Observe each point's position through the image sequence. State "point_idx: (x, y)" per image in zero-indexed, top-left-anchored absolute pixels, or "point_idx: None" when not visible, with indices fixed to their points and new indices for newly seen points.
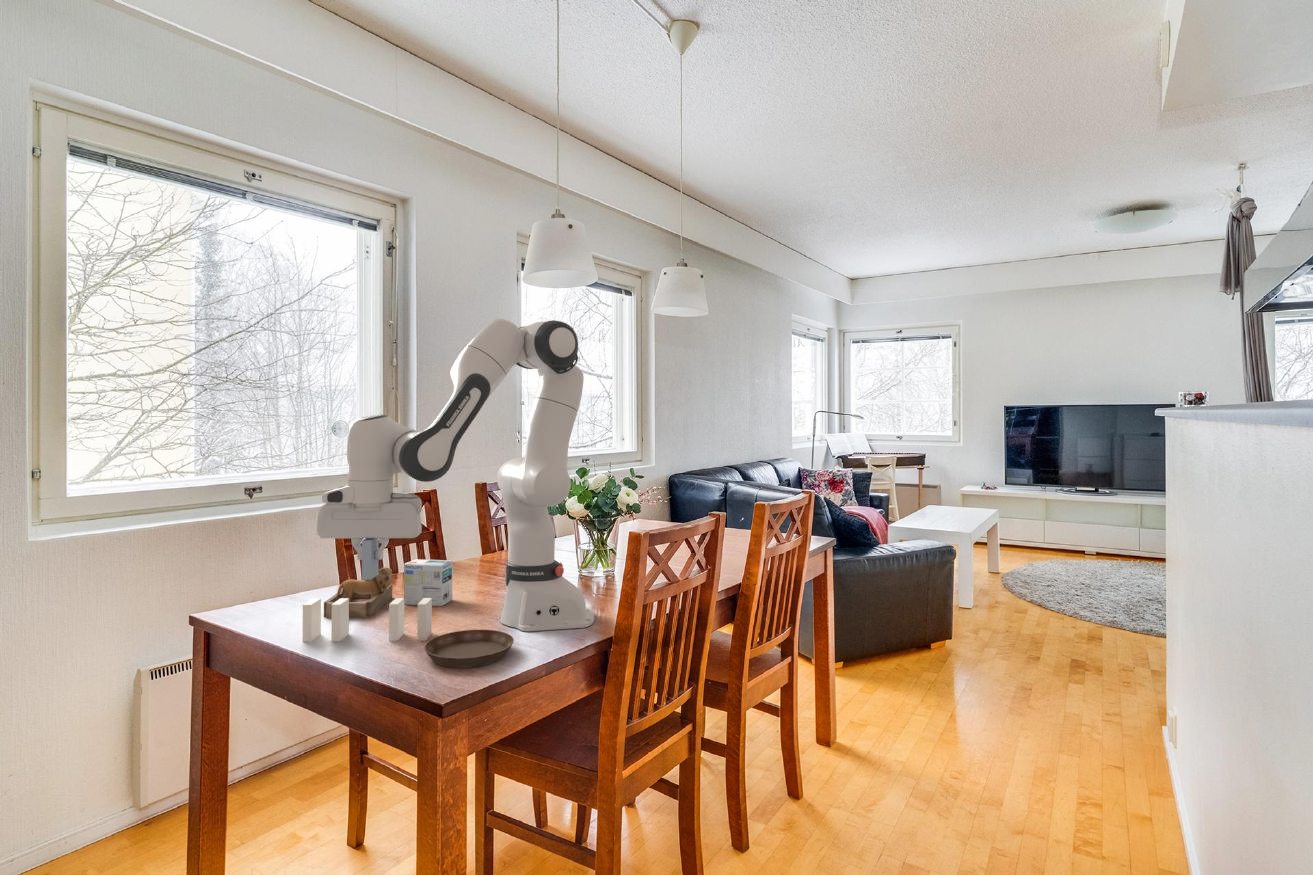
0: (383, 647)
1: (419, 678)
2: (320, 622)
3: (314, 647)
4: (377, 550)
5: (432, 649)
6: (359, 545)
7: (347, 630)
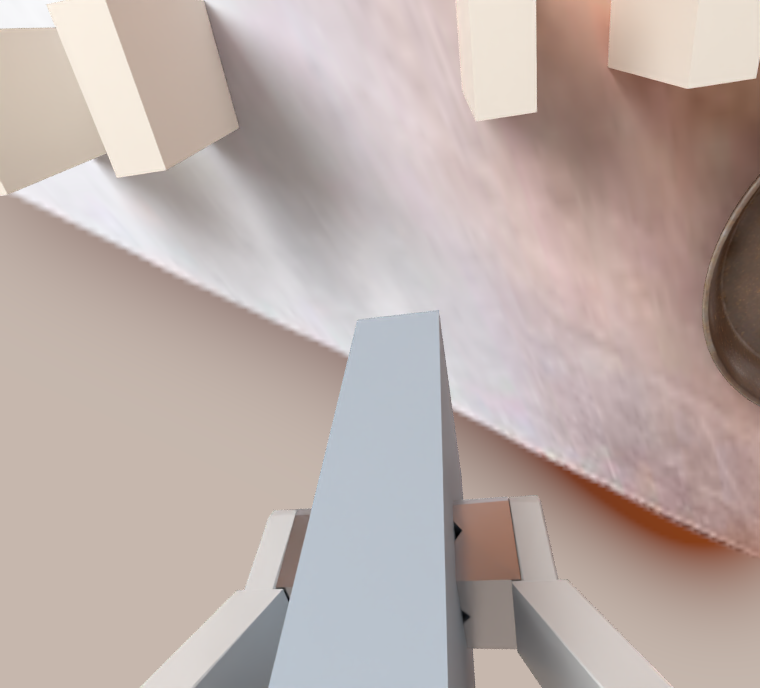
0: (472, 188)
1: (690, 446)
2: (36, 32)
3: (190, 218)
4: (489, 604)
5: (720, 252)
6: (238, 681)
7: (200, 21)
